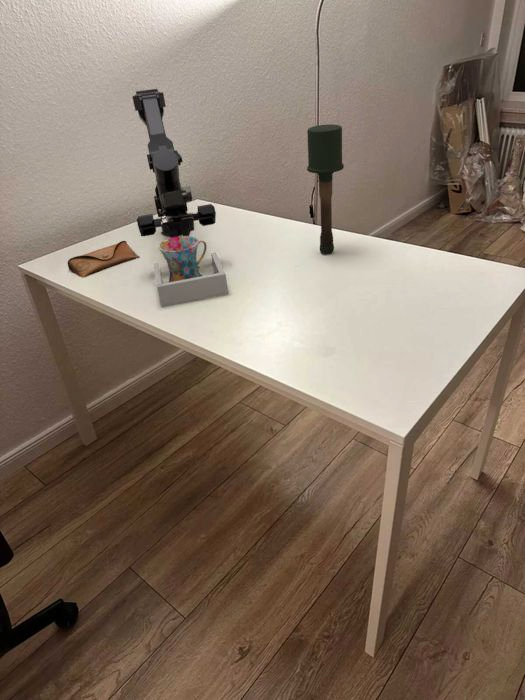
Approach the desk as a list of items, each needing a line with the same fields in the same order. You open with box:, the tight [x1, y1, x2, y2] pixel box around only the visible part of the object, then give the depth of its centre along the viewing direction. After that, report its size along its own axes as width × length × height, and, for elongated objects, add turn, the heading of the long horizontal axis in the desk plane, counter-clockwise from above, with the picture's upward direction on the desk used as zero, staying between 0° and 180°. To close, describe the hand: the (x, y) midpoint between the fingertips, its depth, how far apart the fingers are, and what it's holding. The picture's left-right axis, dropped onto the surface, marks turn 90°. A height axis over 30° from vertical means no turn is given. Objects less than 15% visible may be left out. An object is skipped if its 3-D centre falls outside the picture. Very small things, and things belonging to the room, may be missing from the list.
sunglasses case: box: [67, 240, 140, 279], centre depth 134 cm, size 18×7×7 cm, turn 131°
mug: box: [158, 235, 207, 283], centre depth 116 cm, size 12×9×11 cm
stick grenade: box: [306, 123, 345, 255], centre depth 118 cm, size 8×9×30 cm
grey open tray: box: [153, 252, 229, 308], centre depth 115 cm, size 14×15×5 cm
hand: (184, 252), depth 118 cm, fingers closed, pressing on mug
